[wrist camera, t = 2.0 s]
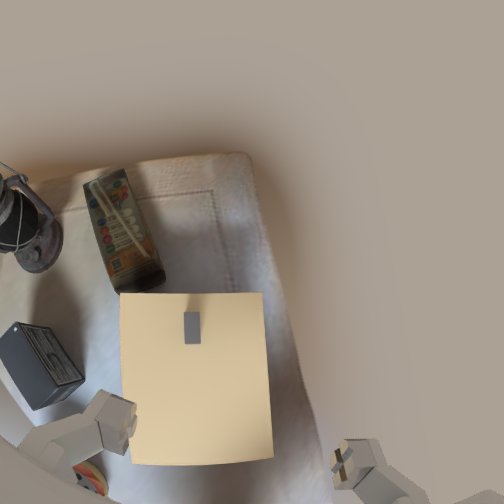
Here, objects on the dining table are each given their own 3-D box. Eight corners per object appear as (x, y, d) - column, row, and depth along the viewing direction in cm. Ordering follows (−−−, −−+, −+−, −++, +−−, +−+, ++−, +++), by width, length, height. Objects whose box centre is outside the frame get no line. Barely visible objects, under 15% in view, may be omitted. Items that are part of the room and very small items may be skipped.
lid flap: (271, 455, 28) (288, 474, 22) (133, 461, 24) (123, 482, 19) (260, 293, 35) (275, 281, 29) (121, 294, 31) (107, 282, 25)
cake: (73, 442, 30) (31, 472, 17) (122, 487, 30) (100, 533, 16) (44, 470, 27) (4, 500, 13) (90, 512, 26) (65, 555, 12)
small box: (26, 348, 34) (-9, 345, 24) (49, 326, 36) (16, 317, 26) (62, 402, 33) (31, 413, 23) (87, 380, 35) (59, 387, 25)
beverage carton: (130, 184, 47) (124, 163, 41) (169, 282, 43) (166, 271, 37) (90, 201, 44) (79, 181, 38) (123, 302, 40) (113, 295, 34)
